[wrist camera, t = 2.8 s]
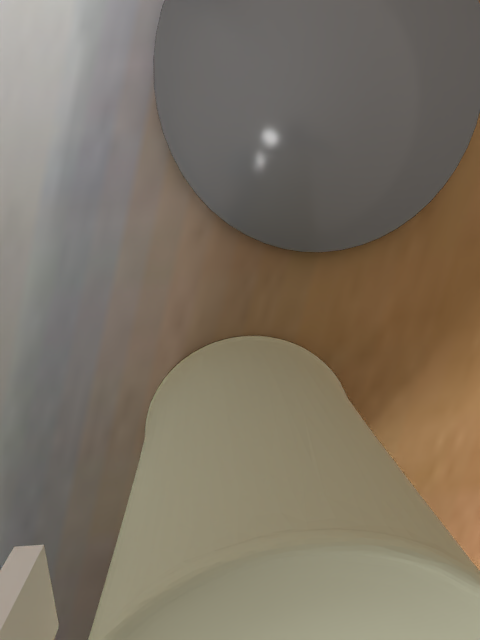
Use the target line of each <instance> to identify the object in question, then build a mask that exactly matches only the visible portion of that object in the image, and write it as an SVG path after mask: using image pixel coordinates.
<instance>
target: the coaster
mask: <svg viewBox="0 0 480 640" xmlns="http://www.w3.org/2000/svg"><path fill="white" fill-rule="evenodd" d="M153 65H154V90H155V97H156V104H157V111H158V115H159V118H160V122H161V126H162V130H163V134H164V136H165V139H166V141H167V144H168V146H169V149H170V151H171V154H172V156H173V158H174V160H175V162H176V163H177V165H178V167H179V169H180V171H181V173H182V174H183V176H184V178H185V179H186V180H187V182H188V183H189V185H190V186H191V187H192V189H193V190H194V192H195V193H196V194H197V195H198V196H199V198H200V199H201V200H202V201H203V202H204V203H205V204H206V205H207V206H208V207H209V208H210V209H211V210H212V211H213V212H214V213H215V214H217V215H218V216H219V217H220V218H221V219H223V220H224V221H225V222H226V223H228V224H229V225H231V226H232V227H234V228H236V229H237V230H239V231H240V232H242V233H244V234H245V235H247V236H250V237H252V238H254V239H256V240H258V241H261V242H263V243H266V244H269V245H272V246H276V247H279V248H282V249H289V250H295V251H301V252H327V251H337V250H343V249H347V248H351V247H355V246H360V245H363V244H365V243H368V242H370V241H373V240H375V239H378V238H380V237H382V236H384V235H386V234H388V233H389V232H391V231H393V230H395V229H397V228H398V227H400V226H401V225H403V224H404V223H405V222H407V221H408V220H410V219H411V218H412V217H414V216H415V215H416V214H417V213H418V212H419V211H421V210H422V209H423V208H424V207H425V206H426V205H427V204H428V203H429V202H430V201H431V200H432V199H433V198H434V197H435V196H436V194H437V193H438V192H439V191H440V190H441V189H442V188H443V186H444V185H445V184H446V182H447V181H448V179H449V178H450V176H451V175H452V173H453V172H454V171H455V169H456V168H457V166H458V164H459V162H460V160H461V158H462V156H463V155H464V153H465V151H466V149H467V147H468V144H469V142H470V139H471V137H472V134H473V132H474V129H475V127H476V124H477V120H478V116H479V113H480V4H479V1H478V0H165V1H164V4H163V7H162V10H161V14H160V19H159V23H158V28H157V32H156V39H155V49H154V59H153Z"/></svg>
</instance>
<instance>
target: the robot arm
mask: <svg viewBox="0 0 480 640" xmlns="http://www.w3.org/2000/svg"><path fill="white" fill-rule="evenodd" d="M58 628H59V623H58V617H57V612H56V607H55V601H54V596H53V590H52V585H51V580H50V574H49V569H48V564H47V558H46V553H45V547H44V545H31V546H17V547H14V548H13V550H12V551H11V553H10V555H9V556H8V558H7V560H6V561H5V563H4V565H3V566H2V568H1V570H0V640H54V639H55V636H56V633H57V631H58Z"/></svg>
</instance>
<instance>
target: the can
mask: <svg viewBox="0 0 480 640" xmlns="http://www.w3.org/2000/svg"><path fill="white" fill-rule="evenodd" d="M88 640H480V571H479V570H478V569H477V567H476V566H475V565H474V564H473V562H472V561H471V560H470V559H469V557H468V556H467V555H466V553H465V552H464V551H463V550H462V548H461V547H460V546H459V544H458V543H457V542H456V541H455V539H454V538H453V537H452V535H451V534H450V533H449V532H448V530H447V529H446V528H445V526H444V525H443V524H442V523H441V521H440V520H439V519H438V517H437V516H436V515H435V514H434V512H433V511H432V510H431V508H430V507H429V506H428V505H427V503H426V502H425V501H424V499H423V498H422V497H421V496H420V494H419V493H418V492H417V490H416V489H415V488H414V486H413V485H412V484H411V482H410V481H409V480H408V479H407V477H406V476H405V475H404V473H403V472H402V471H401V469H400V468H399V467H398V465H397V464H396V463H395V461H394V460H393V459H392V457H391V456H390V455H389V454H388V452H387V451H386V450H385V448H384V447H383V446H382V444H381V443H380V442H379V440H378V439H377V438H376V436H375V435H374V434H373V432H372V431H371V430H370V428H369V427H368V426H367V424H366V423H365V421H364V420H363V419H362V417H361V416H360V415H359V413H358V412H357V410H356V409H355V408H354V406H353V405H352V404H351V402H350V401H349V399H348V398H347V396H346V393H345V391H344V389H343V387H342V385H341V383H340V381H339V380H338V378H337V377H336V376H335V374H334V373H333V371H332V370H331V369H330V368H329V367H328V366H327V365H326V364H325V363H324V362H323V361H322V360H321V359H319V358H318V357H317V356H316V355H314V354H313V353H311V352H310V351H308V350H306V349H304V348H303V347H301V346H299V345H296V344H294V343H291V342H289V341H285V340H282V339H278V338H273V337H267V336H240V337H233V338H228V339H224V340H221V341H217V342H214V343H211V344H209V345H207V346H205V347H202V348H201V349H199V350H197V351H195V352H193V353H192V354H190V355H189V356H187V357H186V358H185V359H183V360H182V361H181V362H180V363H179V364H177V365H176V366H175V367H174V368H173V369H172V370H171V371H170V373H169V374H168V375H167V376H166V377H165V378H164V380H163V381H162V383H161V384H160V386H159V387H158V389H157V391H156V393H155V395H154V397H153V399H152V401H151V404H150V407H149V410H148V414H147V418H146V425H145V439H144V443H143V447H142V451H141V456H140V460H139V463H138V467H137V471H136V474H135V478H134V482H133V485H132V489H131V492H130V496H129V500H128V503H127V507H126V511H125V514H124V518H123V521H122V525H121V529H120V532H119V536H118V539H117V543H116V546H115V550H114V553H113V557H112V560H111V563H110V567H109V570H108V574H107V577H106V581H105V584H104V587H103V591H102V594H101V598H100V601H99V605H98V608H97V612H96V615H95V618H94V622H93V625H92V629H91V632H90V635H89V638H88Z"/></svg>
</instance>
